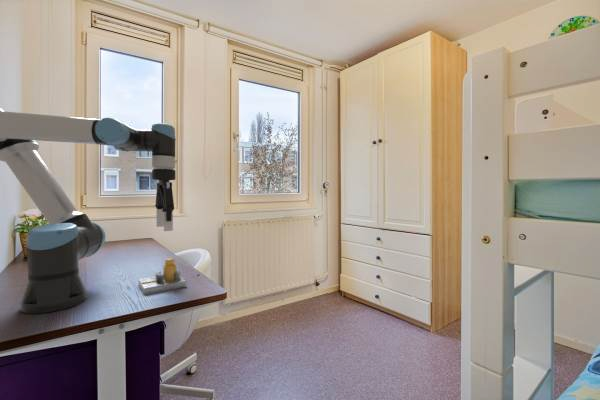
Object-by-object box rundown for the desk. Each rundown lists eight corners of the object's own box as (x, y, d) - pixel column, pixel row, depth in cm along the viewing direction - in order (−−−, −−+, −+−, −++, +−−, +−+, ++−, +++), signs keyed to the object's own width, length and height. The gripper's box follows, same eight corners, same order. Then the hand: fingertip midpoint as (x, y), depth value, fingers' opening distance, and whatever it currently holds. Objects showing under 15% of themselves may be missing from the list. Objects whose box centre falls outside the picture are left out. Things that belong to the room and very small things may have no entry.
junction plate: (144, 294, 95) (144, 280, 95) (138, 284, 104) (138, 272, 104) (186, 286, 102) (185, 273, 102) (177, 278, 112) (176, 266, 112)
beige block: (165, 281, 102) (165, 261, 102) (162, 278, 105) (161, 259, 105) (178, 279, 104) (177, 259, 104) (174, 276, 108) (174, 257, 107)
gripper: (183, 167, 96) (184, 232, 97) (168, 171, 117) (168, 224, 117) (158, 166, 92) (159, 233, 93) (146, 170, 112) (147, 225, 113)
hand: (164, 228), depth 105 cm, fingers open, 13 cm apart
